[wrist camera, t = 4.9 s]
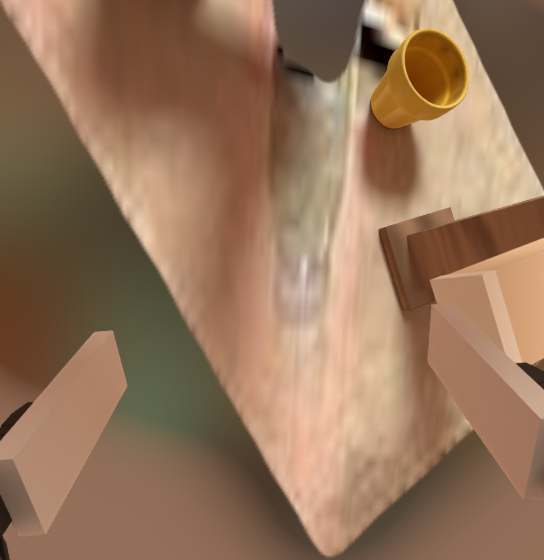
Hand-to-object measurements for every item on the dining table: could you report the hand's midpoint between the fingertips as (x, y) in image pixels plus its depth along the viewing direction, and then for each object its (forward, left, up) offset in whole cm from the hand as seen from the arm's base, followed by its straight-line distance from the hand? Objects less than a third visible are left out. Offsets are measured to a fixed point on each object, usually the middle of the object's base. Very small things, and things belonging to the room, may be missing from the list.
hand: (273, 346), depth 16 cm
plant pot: (+28, +32, -30) cm, 52 cm away
